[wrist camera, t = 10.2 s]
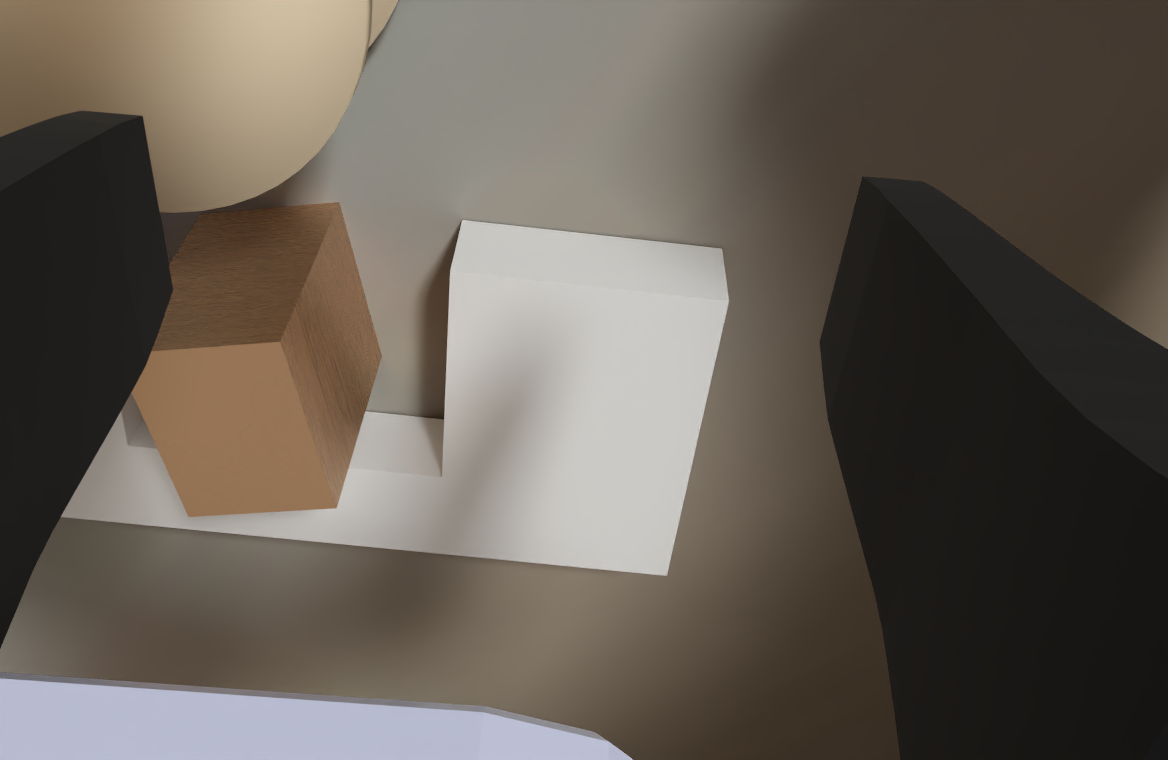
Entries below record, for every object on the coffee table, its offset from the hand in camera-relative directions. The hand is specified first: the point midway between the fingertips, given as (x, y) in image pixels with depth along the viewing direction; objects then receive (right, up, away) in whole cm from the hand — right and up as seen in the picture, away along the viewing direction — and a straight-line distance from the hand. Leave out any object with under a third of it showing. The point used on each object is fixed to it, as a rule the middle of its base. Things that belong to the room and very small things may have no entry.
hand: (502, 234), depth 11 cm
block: (-6, +1, +13) cm, 14 cm away
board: (-5, -1, +14) cm, 15 cm away
